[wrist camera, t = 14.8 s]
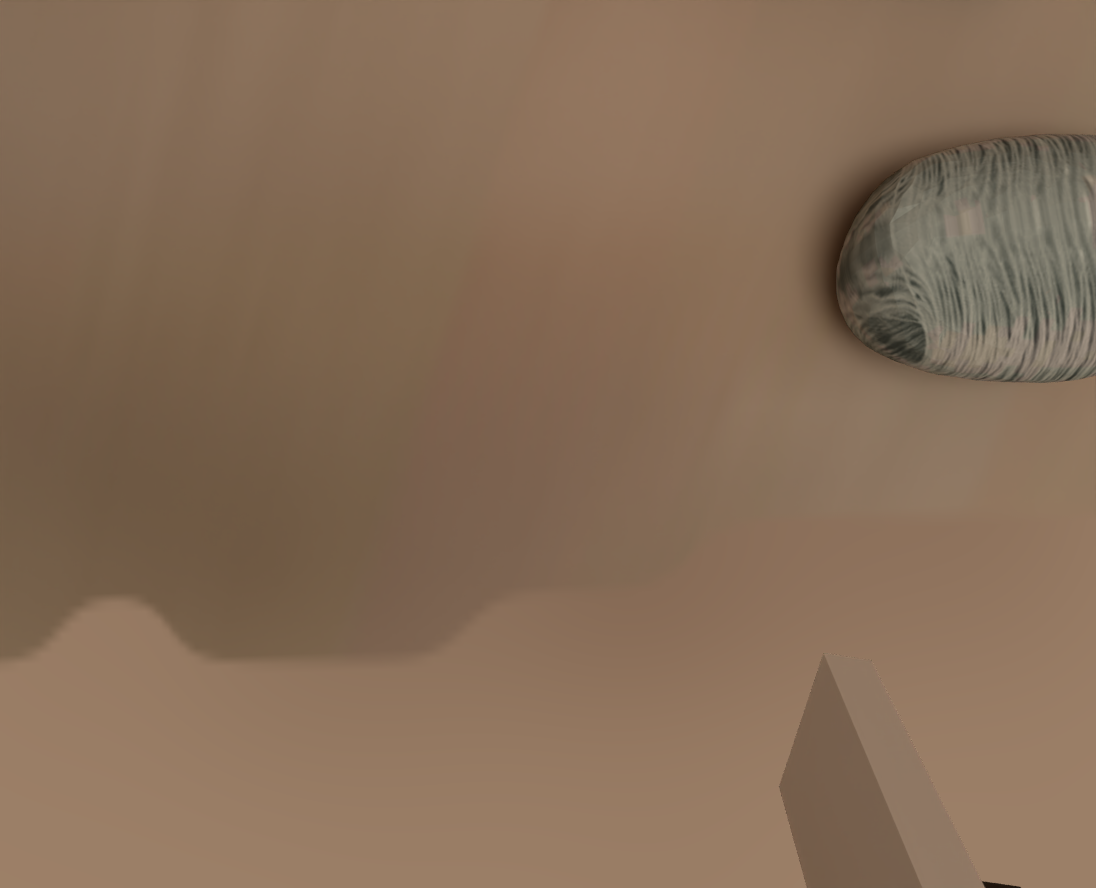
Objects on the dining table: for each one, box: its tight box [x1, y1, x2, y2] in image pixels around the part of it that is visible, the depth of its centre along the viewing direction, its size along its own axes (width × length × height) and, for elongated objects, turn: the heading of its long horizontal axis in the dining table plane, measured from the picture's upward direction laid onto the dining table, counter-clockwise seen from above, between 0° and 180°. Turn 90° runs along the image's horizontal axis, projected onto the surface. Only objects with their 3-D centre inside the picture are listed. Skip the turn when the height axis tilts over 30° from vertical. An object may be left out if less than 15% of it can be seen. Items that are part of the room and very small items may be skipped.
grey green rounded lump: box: [836, 134, 1096, 383], centre depth 33 cm, size 14×10×10 cm
